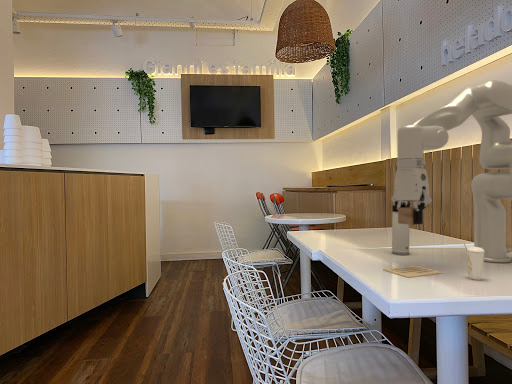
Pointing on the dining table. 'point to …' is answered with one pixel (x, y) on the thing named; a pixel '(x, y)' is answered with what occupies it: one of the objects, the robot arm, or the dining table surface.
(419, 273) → the letter
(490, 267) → the dining table surface
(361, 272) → the dining table surface
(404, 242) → the travel mug
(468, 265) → the milkshake
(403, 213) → the walnut block
